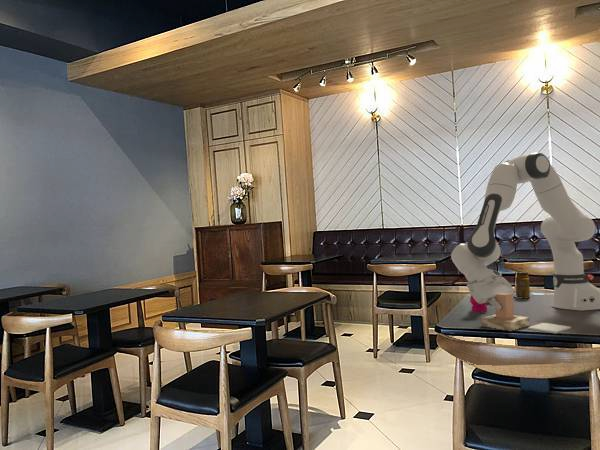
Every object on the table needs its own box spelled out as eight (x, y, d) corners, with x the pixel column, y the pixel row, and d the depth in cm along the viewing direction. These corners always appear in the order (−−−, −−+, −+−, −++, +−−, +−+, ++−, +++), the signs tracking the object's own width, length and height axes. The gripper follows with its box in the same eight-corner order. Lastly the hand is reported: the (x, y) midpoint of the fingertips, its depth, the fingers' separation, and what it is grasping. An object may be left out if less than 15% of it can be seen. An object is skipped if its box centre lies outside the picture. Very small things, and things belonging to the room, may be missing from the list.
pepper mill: (489, 312, 208) (487, 265, 208) (471, 312, 210) (469, 265, 210) (486, 308, 216) (484, 263, 215) (469, 309, 217) (467, 263, 217)
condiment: (533, 296, 238) (532, 271, 238) (526, 299, 232) (525, 273, 232) (518, 295, 243) (516, 271, 243) (510, 298, 237) (509, 273, 237)
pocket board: (500, 320, 192) (500, 313, 192) (529, 325, 182) (529, 317, 182) (481, 326, 185) (481, 318, 185) (510, 331, 175) (510, 322, 175)
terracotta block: (503, 323, 187) (501, 292, 187) (514, 325, 183) (512, 293, 183) (496, 325, 184) (494, 293, 184) (507, 327, 181) (505, 295, 180)
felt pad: (543, 324, 183) (543, 322, 183) (570, 328, 175) (570, 326, 175) (528, 328, 177) (528, 327, 177) (555, 333, 169) (555, 331, 169)
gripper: (469, 277, 183) (494, 306, 175) (502, 271, 195) (526, 298, 187) (460, 288, 187) (483, 317, 179) (492, 281, 199) (516, 308, 191)
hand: (505, 307), depth 183 cm, fingers closed on terracotta block, 4 cm apart
